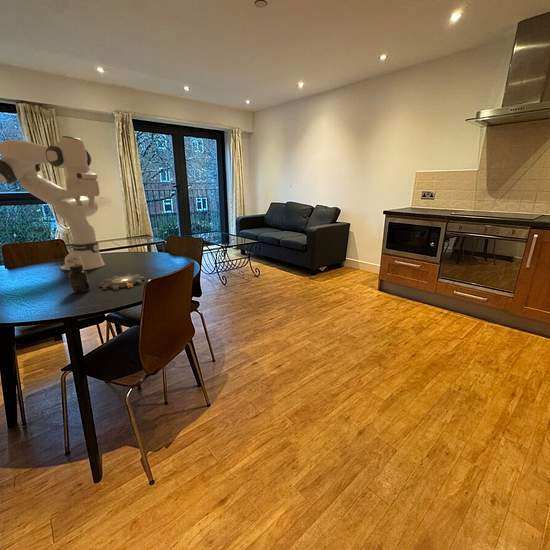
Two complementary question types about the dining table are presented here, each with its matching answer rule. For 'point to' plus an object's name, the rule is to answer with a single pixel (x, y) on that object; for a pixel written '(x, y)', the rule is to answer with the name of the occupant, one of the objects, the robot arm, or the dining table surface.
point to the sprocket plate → (122, 281)
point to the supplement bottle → (78, 279)
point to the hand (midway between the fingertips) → (85, 206)
